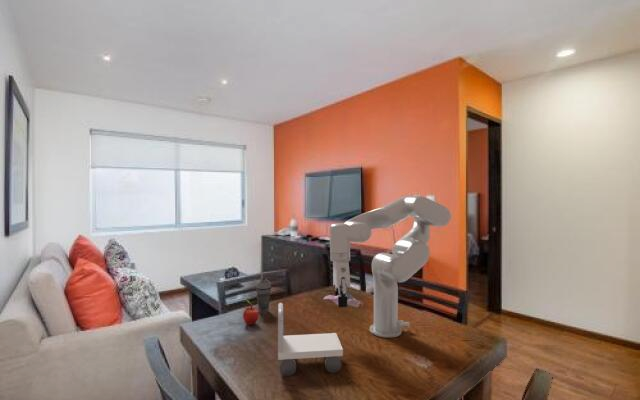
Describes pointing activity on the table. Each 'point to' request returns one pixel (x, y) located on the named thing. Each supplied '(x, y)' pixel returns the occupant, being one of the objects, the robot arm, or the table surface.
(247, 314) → the apple
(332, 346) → the trolley
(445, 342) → the table surface
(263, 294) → the beverage cup
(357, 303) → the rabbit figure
